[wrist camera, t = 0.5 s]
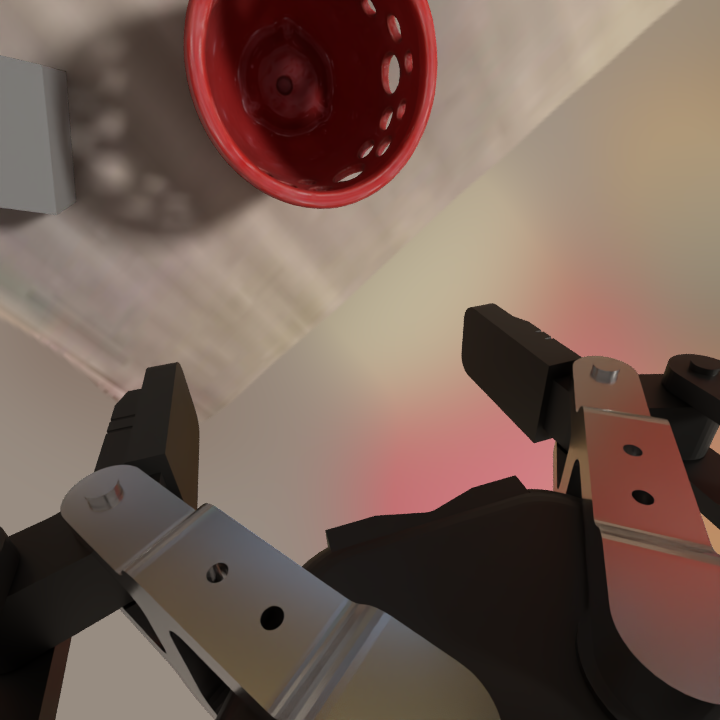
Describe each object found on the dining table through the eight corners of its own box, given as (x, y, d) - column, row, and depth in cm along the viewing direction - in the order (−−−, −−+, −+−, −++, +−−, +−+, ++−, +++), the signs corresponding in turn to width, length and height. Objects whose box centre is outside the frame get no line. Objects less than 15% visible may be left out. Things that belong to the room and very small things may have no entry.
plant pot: (218, 194, 34) (223, 228, 24) (163, -29, 27) (137, -113, 17) (378, 171, 36) (442, 193, 26) (365, -37, 30) (444, -114, 20)
